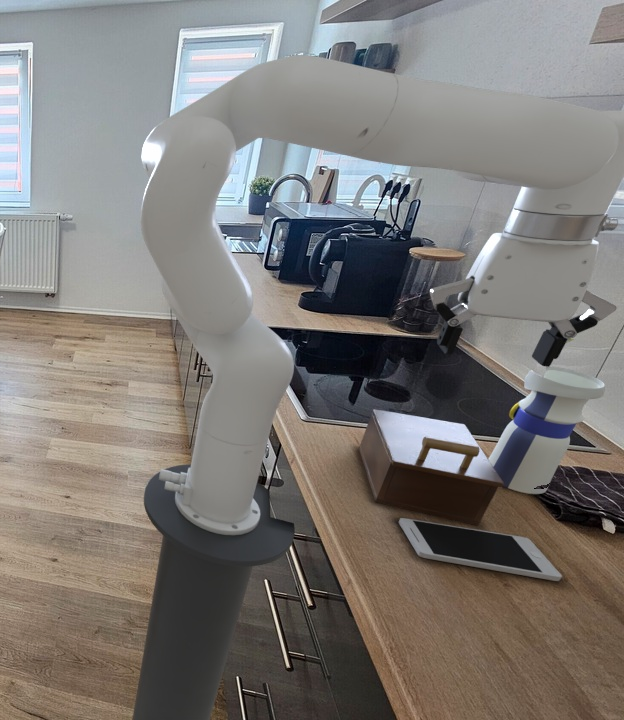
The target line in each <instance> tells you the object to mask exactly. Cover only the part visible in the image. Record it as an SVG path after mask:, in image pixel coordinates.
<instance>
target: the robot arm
mask: <svg viewBox="0 0 624 720" xmlns="http://www.w3.org/2000/svg"><path fill="white" fill-rule="evenodd" d="M258 139H268V140H274V141H278V142H284V143H288V144H292V145H297V146H302V147H306V148H311V149H316V150H320V151H324V152H330V153H332V154H333V153H334V154H339V155H343V156H347V157H351V158H355V159H358V160H359V159H360V160H365V161H368V162H375V163H381V164H387V165H393V166H401V167H415V168H416V167H417V168H428V169H429V168H430V169H441V170H449V171H453V172H454V173H455V174H456V175H458V176H459V177H461V178H464V179H467V180H470V181H474V182H481V183H488V184H496V185H508V186H514V187H521V188H520V190H519V192H518V194H517V197H516V200H515V202H514V204H513V207H512V209H511V212H510V214H509V216H508V219H507V221H506V223H505V226H504V229H503V230H502V232H494V233H492V234H491V235H490V237H489V239H487V241H486V242H485V244H484V245H483V247H482V249H481V250H480V252H479V254H478V255H477V257H476V259H475V260H474V262H473V263H472V266H471V268H470V269H469V271H468V273H467V275H466V277H465V279H461V280H457V281H453V282H450V283H446V284H443V285H439V286H436V287H432V288H430V290H429V296H430V300H431V302H432V306H433V308H434V310H435V311H436V312H437V314H438V315H440V317H441V319H443V320H444V321H443V323H442V326H441V329H440V332H439V333H438V336H437V339H436V344H437V345H438V347H439V348H440V350H441V351H442V352H443V354H444V355H453V354H454V353H455V350H456V347H457V344H458V342H459V340H460V338H461V336H462V332H463V330H464V328H463V327H462V326H461V324H463V323H465V322H466V321H468V320H470V319H472V318H474V317H475V316H483V317H491V318H499V319H500V318H502V319H511V320H521V321H532V322H541V323H542V322H543V323H548V324H549V326H550V329H548V328H547V329H545V330H544V331H543V332H542V334H541V335H540V338H539V340H538V342H537V344H536V346H535V348H534V350H533V351H532V354H531V358H532V359H533V360H535V361H536V363H538V364H539V365H541V366H542V367H545V368H546V367H551V366H552V363H553V362H554V360H556V359H558V358H559V357H560V356H561V353H562V351H563V349H564V347H565V345H566V344H567V343H566V341H567V340H568V339H571V338H572V339H574V338H575V337H577V335H578V334H580V333H583V332H584V331H587V330H589V329H591V328H594V327H596V326H597V325H598V323H599V322H600V321H603V320H605V318H607V317H608V316H610V315H611V314H613V313H614V312H616V310H617V309H618V308H617V306H616V305H615V304H613V303H612V302H609V301H608V300H606V299H604V298H602V297H600V296H598V295H596V294H594V293H593V292H590V291H589V290H588V288H589V285H590V282H591V280H592V276H593V272H594V270H595V267H596V261H597V257H598V252H599V245H600V243H599V241H597V240H595V238H598V236H599V234H600V232H604V231H610V232H611V231H612V232H613V231H614V230H615V229H616V228H617V227H618V225H619V219H618V218H610V217H609V214H608V211H609V209H610V207H611V205H612V203H613V201H614V199H615V197H616V195H617V193H618V191H619V188H620V186H621V185H622V182H623V180H624V110H598V109H595V108H590V107H586V106H582V105H579V104H578V105H577V104H572V103H568V102H564V101H560V100H555V99H551V98H546V97H540V96H536V95H529V94H523V93H516V92H509V91H502V90H495V89H487V88H479V87H473V86H467V85H462V84H456V83H452V82H445V81H437V80H428V79H423V78H416V77H412V76H408V75H402V74H397V73H393V72H389V71H388V72H387V71H383V70H378V69H375V68H369V67H365V66H361V65H357V64H353V63H348V62H344V61H339V60H335V59H330V58H326V57H322V56H316V55H309V54H296V55H295V54H294V55H289V56H284V57H280V58H277V59H274V60H273V59H272V60H269V61H265V62H261V63H258V64H256V65H254V66H252V67H250V68H248V69H246V70H245V71H243V72H242V73H240V74H238V75H236V76H235V77H233V78H232V79H230V80H228V81H227V82H225V83H224V84H221V86H219V87H217V88H215V89H214V90H212V91H211V92H209V93H207V94H206V95H204V96H202V97H201V98H199V99H197V100H196V101H194V102H192V103H191V104H189V105H187V106H185V107H184V108H182V109H180V110H179V111H177V112H175V113H174V114H172V115H170V116H168V117H167V118H165V119H164V120H162V121H161V122H159V123H158V124H157V125H156V126H155V127H154V128H153V129H152V130H151V132H149V134H148V136H147V137H146V139H145V141H144V143H143V146H142V150H141V163H142V167H143V170H144V172H145V174H146V175H147V177H148V178H149V179H148V183H147V185H146V188H145V190H144V194H143V198H142V202H141V208H140V209H141V210H140V231H141V235H142V238H143V241H144V244H145V246H146V248H147V250H148V252H149V254H150V256H151V258H152V260H153V261H154V263H155V265H156V268H157V269H158V272H159V273H160V275H161V282H160V283H161V291H162V293H163V295H164V298H165V300H166V303H168V305H169V307H170V309H171V311H172V312H173V314H174V316H175V317H176V319H177V320H178V323H179V324H180V326H181V327H182V329H183V331H184V333H185V334H186V335H187V337H188V339H189V340H190V342H191V344H192V345H193V347H194V349H195V350H196V352H197V353H198V354H199V356H200V357H201V358H202V360H203V361H204V362H205V364H206V365H207V368H208V369H209V370H210V371H211V374H212V382H211V385H210V387H209V389H208V391H207V392H206V394H205V396H204V398H203V401H202V406H201V408H200V413H199V418H198V425H197V430H196V436H195V440H194V441H195V443H194V446H193V452H192V457H191V462H190V464H191V468H188V472H187V473H183V472H181V474H178V473H174V472H172V471H168V470H164V469H165V468H164V469H163V468H160V470H159V472H160V475H159V480H161V481H165V482H166V483H165V488H164V489H166V490H170V491H175V492H176V494H175V503H176V506H177V508H178V510H179V511H180V512H181V514H182V515H183V516H184V517H185V518H186V519H187V520H189V521H190V522H192V523H193V524H195V525H196V526H198V527H200V528H202V529H205V530H207V531H210V532H213V533H217V534H222V535H241V534H245V533H248V532H250V531H252V530H253V529H254V528H255V527H256V526H257V525H258V522H259V519H260V509H259V506H258V504H257V503H256V501H255V500H254V499H253V496H254V492H255V488H256V484H257V483H258V480H259V477H260V472H261V469H262V465H263V462H264V457H265V454H266V450H267V445H268V441H269V439H270V434H271V430H272V426H273V422H274V419H275V416H276V413H277V410H278V407H279V405H280V403H281V401H282V399H283V397H284V395H285V393H286V391H287V390H288V388H289V386H290V384H291V382H292V379H293V376H294V372H295V361H294V357H293V353H292V352H291V350H290V349H289V347H288V345H287V344H286V342H285V341H284V340H283V339H282V338H281V337H280V336H279V334H277V333H276V332H275V331H274V330H272V329H271V328H270V327H269V326H268V325H266V324H265V323H263V322H262V321H261V320H260V319H259V318H257V316H255V315H254V314H253V313H252V311H253V307H254V306H253V305H254V295H253V290H252V286H251V285H250V282H249V280H248V278H247V277H246V275H245V274H244V271H243V270H242V268H241V266H240V265H239V264H238V262H237V259H236V258H235V256H234V254H233V252H232V249H230V246H229V245H228V242H227V241H226V239H225V237H224V235H223V232H222V230H221V227H220V226H219V223H218V219H217V216H216V215H217V214H216V205H217V201H218V198H219V195H220V193H221V191H222V189H223V187H224V184H225V183H226V181H227V179H228V178H229V176H230V174H231V172H232V169H233V167H234V164H235V160H236V155H237V152H238V151H239V150H241V149H243V148H245V147H246V146H247V145H250V144H252V143H253V142H254V141H256V140H258ZM453 295H458V296H457V301H458V303H459V304H457V305H455V306H453V307H452V308H450V307H449V305H448V302H447V298H448V297H450V296H453ZM582 303H584V304H586V305H587V306H589V309H587V310H586V312H585V313H583V314H579V315H577V316H575V317H574V315H575V314H576V312H577V311H578V309H579V307H580V305H581V304H582ZM174 483H176V484H174ZM178 484H179V485H178Z"/></svg>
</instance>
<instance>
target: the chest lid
mask: <svg viewBox="0 0 624 720" xmlns="http://www.w3.org/2000/svg"><path fill="white" fill-rule="evenodd" d="M371 414H373V416H374V419H375V422H376V424H377V427H378V429H379V432H380V434H381V437H382V440H383V442H384V445H385V447H386V450H387V453H388V455H389V458H390V460H391V463H392V465H393V466H398V467H403V468H408V469H413V470H418V471H423V472H428V473H433V474H437V475H442V476H447V477H452V478H457V479H462V480H467V481H472V482H477V483H482V484H487V485H491V486H496V487H498V488H503V487H504V486H503V485H504V482H503V481H502V479H501V478H500V477H499V475H498V474H497V472H496V471H495V469H494V468H493V466H492V465H491V463H490V462H489V460H488V459H489V458H488V457H487V456H486V454H485V452H484V450H482V448H481V447H480V444H478V442H477V441H476V439H475V438H474V436H473V435H472V433H471V431H470V430H469V428H468V427H467V426H466V424H464V423H459V422H452V421H446V420H441V419H435V418H428V417H422V416H417V415H412V414H406V413H398V412H395V411H394V412H393V411H387V410H383V409H382V410H380V409H375V408H372V411H371Z"/></svg>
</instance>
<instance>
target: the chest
mask: <svg viewBox="0 0 624 720" xmlns="http://www.w3.org/2000/svg"><path fill="white" fill-rule="evenodd" d="M358 451H359V453H360V457H361V461H362V463H363V466H364V469H365V474H366V476H367V480H368V483H369V486H370V489H371V492H372V495H373V499H374V502H375V503H379V504H383V505H386V506H387V505H388V506H392V507H396V508H400V509H404V510H409V511H413V512H418V513H421V514H426V515H430V516H435V517H439V518H442V519H448V520H452V521H457V522H460V523H465V524H470V525H474V526H479V524H480V523H481V521H482V519H483V517H484V515H485V514H486V511H487V509H488V507H489V506H490V504H491V502H492V500H493V498H494V496H495V495H496V493H497V491H498V489H499V487H496V486H491V485H487V484H482V483H477V482H472V481H467V480H462V479H457V478H452V477H447V476H442V475H437V474H433V473H428V472H423V471H418V470H413V469H408V468H403V467H398V466H393V465H392V463H391V460H390V458H389V455H388V453H387V450H386V447H385V445H384V442H383V440H382V437H381V434H380V432H379V429H378V427H377V424H376V422H375V419H374V416H373V414H372V413H371V414H370V416H369V420H368V422H367V426H366V428H365V431H364V433H363V436H362V439H361V442H360V445H359V447H358Z"/></svg>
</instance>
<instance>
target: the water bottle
mask: <svg viewBox="0 0 624 720" xmlns="http://www.w3.org/2000/svg"><path fill="white" fill-rule="evenodd" d="M572 341H574V338H571V339H568V340H567V341H566V343H565V344H567V343H570V342H572ZM523 383H524V385H523V388H524V389H525V390H529V391H531V392H529V394H528V395H527V396H526V397H524V398H522V399H521V400H519V401H518V402H516V403H515V404H514V405H513V406H512V407H511V409H510V410H509V413H508V416H509V418H510V419H511V421H510V422H509V423H508V424H507V425H506V427H505V428H504V430H503V432H502V434H501V435H500V437H499V440H498V442H497V443H496V445H495V447H494V448H493V450H492V452H491V453H490V455H489V457H488V458H487V459H488V460H489V462H490V463H491V465H492V466H493V468H494V469H495V471H496V472H497V474H498V475H499V477H500V478H501V479H502V481H503V482H504V485H503V487H504V488H507V489H510V490H513V491H516V492H520V493H524V494H530V495H540V494H544V493H546V492H547V490H548V489H549V486H548V487H547V488H544V489H534V488H536V487H537V486H541V485H547V484H549V483H550V484H551V481H552V480H553V477H554V475H555V474H556V472H557V469H558V467H559V465H560V463H561V461H562V460H563V458H564V456H565V454H566V453H567V451H568V448H569V446H570V444H571V437H570V436H571V435H572V432H573V431H574V429H575V427H576V426H577V424H580V423H583V421H584V419H585V417H584V415H583V409H584V406H585V405H586V404H587V403H588V401H589V400H596V399H597V400H598V399H601V398H602V397H603V396H604V395H605V388H606V384H605V383H604V381H602V380H600V379H599V378H597V377H595V376H592V375H589V374H587V373H584V372H581V371H578V370H574V369H570V368H565V367H559V366H553V365H550V366H549V367H546V366H545V371H544V373H543V375H539V374H537V373H536V372H535V371H534V370H533V369H530V370H529V371H528V373H526V376H525V378H524V380H523ZM550 484H549V485H550Z"/></svg>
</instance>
